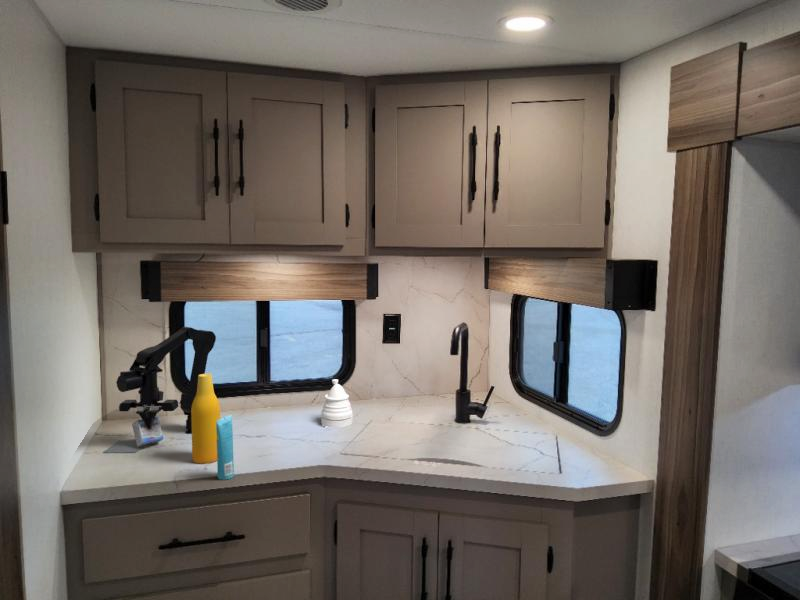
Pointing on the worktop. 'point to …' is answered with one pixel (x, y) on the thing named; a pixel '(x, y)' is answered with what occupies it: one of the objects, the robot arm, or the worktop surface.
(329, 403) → the honey pot
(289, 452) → the worktop surface
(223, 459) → the tube
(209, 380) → the beer bottle
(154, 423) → the medicine box
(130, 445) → the rubber mat
